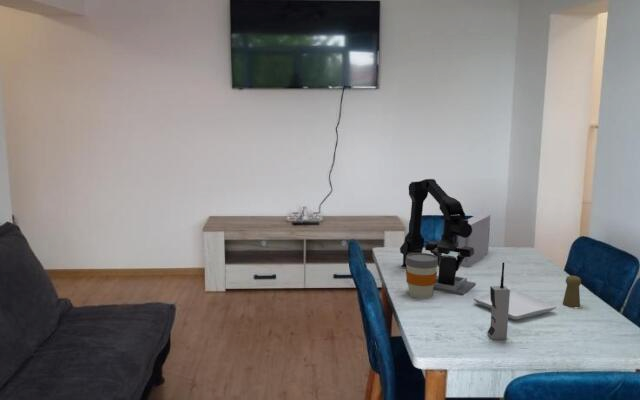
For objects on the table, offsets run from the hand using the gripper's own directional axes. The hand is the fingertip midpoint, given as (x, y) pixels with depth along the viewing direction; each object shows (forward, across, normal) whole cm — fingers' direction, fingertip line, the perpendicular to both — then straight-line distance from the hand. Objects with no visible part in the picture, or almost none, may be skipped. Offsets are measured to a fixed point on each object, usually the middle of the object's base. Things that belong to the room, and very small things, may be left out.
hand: (448, 269), depth 230 cm
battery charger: (+6, -1, 0) cm, 6 cm away
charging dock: (+7, 0, 0) cm, 7 cm away
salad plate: (+8, +29, -11) cm, 32 cm away
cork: (+7, +46, +5) cm, 47 cm away
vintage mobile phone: (+7, +31, -40) cm, 51 cm away
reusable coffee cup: (+7, -5, -15) cm, 18 cm away
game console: (+7, -4, +44) cm, 44 cm away
